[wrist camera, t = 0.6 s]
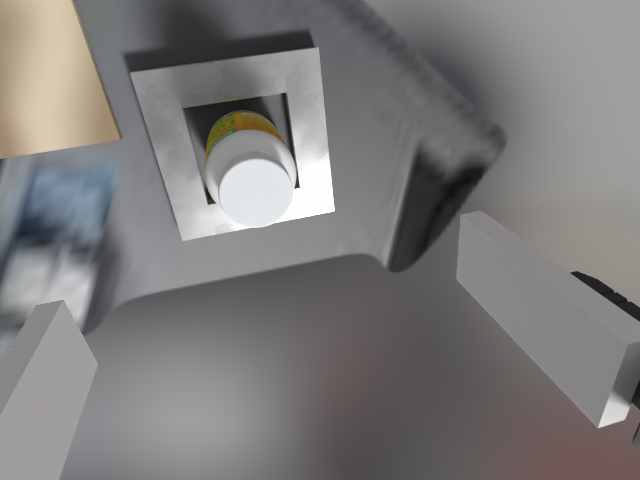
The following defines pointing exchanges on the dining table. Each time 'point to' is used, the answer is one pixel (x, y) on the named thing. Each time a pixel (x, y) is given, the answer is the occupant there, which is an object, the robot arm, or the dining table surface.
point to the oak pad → (49, 81)
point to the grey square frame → (228, 85)
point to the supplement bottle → (249, 169)
